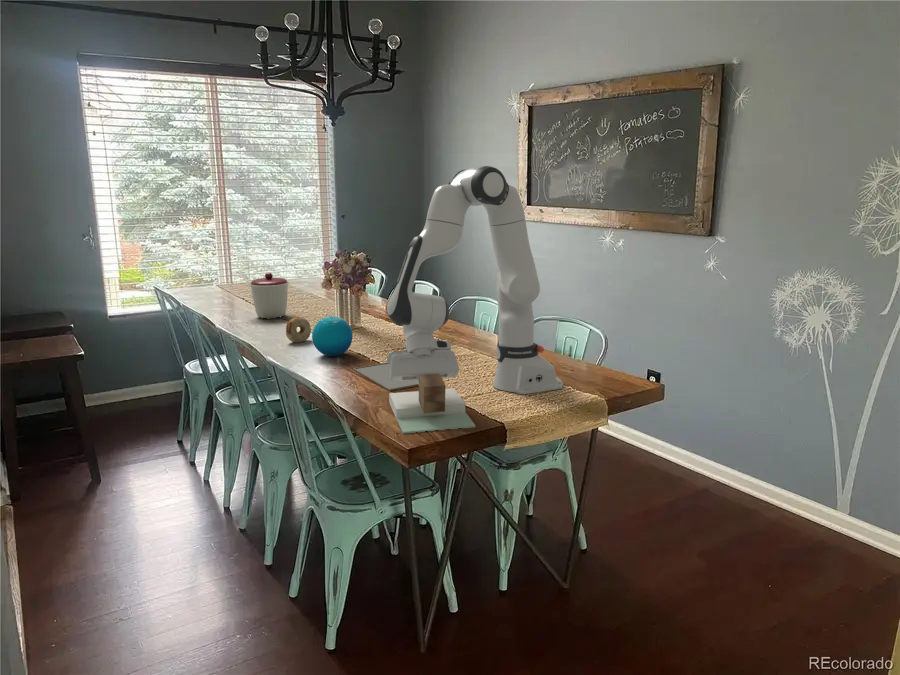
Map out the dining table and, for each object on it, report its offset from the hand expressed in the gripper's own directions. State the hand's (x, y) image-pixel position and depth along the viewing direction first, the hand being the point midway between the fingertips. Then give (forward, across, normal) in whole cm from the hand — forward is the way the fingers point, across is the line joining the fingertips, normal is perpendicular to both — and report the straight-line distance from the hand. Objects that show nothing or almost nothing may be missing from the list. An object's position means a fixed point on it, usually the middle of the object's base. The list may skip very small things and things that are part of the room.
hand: (427, 390), depth 195 cm
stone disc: (-59, -35, +68) cm, 97 cm away
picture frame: (-21, -4, +31) cm, 37 cm away
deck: (+2, 0, +6) cm, 7 cm away
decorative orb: (-42, -23, +52) cm, 71 cm away
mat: (+12, 0, -3) cm, 12 cm away
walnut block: (+5, 0, -1) cm, 5 cm away
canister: (-95, -48, +105) cm, 149 cm away
